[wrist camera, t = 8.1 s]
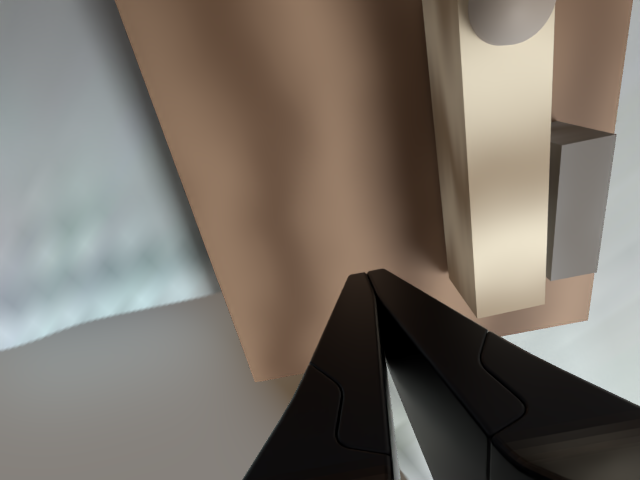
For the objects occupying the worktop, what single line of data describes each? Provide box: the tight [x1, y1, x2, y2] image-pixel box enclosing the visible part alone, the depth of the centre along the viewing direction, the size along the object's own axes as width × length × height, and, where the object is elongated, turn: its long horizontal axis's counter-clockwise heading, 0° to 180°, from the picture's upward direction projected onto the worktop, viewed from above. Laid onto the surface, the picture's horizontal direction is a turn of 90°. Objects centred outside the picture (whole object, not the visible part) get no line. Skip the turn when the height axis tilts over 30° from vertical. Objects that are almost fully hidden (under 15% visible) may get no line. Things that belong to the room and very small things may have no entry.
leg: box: [422, 0, 556, 319], centre depth 15 cm, size 13×3×4 cm, turn 13°
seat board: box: [115, 0, 633, 382], centre depth 17 cm, size 20×22×6 cm
